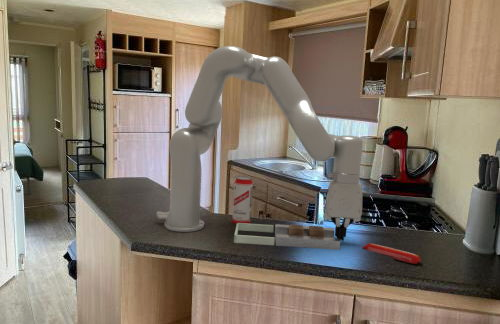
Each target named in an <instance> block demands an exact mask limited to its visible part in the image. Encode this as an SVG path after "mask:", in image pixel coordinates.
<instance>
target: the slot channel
mask: <svg viewBox="0 0 500 324" xmlns="http://www.w3.org/2000/svg"><path fill="white" fill-rule="evenodd" d="M274 224H275V223H274ZM309 226H310V225H308V226H307V225H306V226H305V225H303V228H304V234H303V236H297V235H288V234H289V225H288V224H281V223H280V224H279V223H276V224H275V226H274V237H275V241H274V242H275V246H276V247H277V246H278V247H280V246H281V247H294V248H306V249H307V248H308V249H322V250H334V251H335V250H336V251H340V248H341V240H339V238H337V237H335V229H334V228H333V227H324V226H322V227H323V229H324V237H312V236H308V234H309Z"/></svg>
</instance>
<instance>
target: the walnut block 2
mask: <svg viewBox="0 0 500 324" xmlns="http://www.w3.org/2000/svg"><path fill="white" fill-rule="evenodd" d="M308 226H309V234H308V236H312V237H324V229H323V227H324V226H318V225H308Z"/></svg>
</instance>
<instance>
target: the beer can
mask: <svg viewBox="0 0 500 324" xmlns="http://www.w3.org/2000/svg"><path fill="white" fill-rule="evenodd" d="M235 178H236V179H235V181H234V183H233V203H232V217H231V221H232V223H233V224H235V225H237V223H247V224H251V221H252V220H251V219H252V206H253V205H252V204H253V189H254V188H253V187H254V183H253V180H252V177H251V176H245V175H243V176H241V175H239V176H236V177H235Z"/></svg>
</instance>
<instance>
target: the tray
mask: <svg viewBox="0 0 500 324" xmlns="http://www.w3.org/2000/svg"><path fill="white" fill-rule="evenodd" d="M235 225H236V227H235V231H234V234H233V243H235V244H246V245H247V244H251V245H262V246H263V245H264V246H275V242H276V241H275V236H274V237H273V236H272V237H271V236H260V235H259V236H257V235H244V234H239V231H247V232H261V233H274V230H275V226H274V224H259V223H249V224H247V223H237V224H235Z"/></svg>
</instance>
